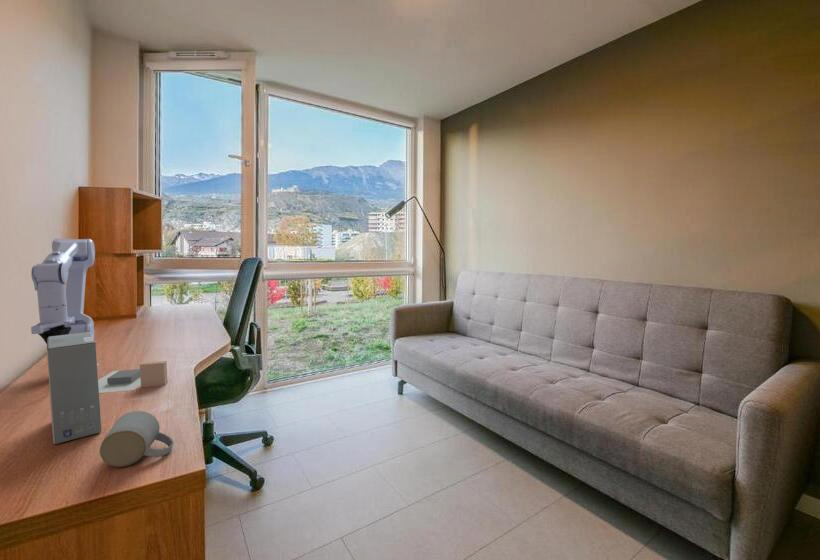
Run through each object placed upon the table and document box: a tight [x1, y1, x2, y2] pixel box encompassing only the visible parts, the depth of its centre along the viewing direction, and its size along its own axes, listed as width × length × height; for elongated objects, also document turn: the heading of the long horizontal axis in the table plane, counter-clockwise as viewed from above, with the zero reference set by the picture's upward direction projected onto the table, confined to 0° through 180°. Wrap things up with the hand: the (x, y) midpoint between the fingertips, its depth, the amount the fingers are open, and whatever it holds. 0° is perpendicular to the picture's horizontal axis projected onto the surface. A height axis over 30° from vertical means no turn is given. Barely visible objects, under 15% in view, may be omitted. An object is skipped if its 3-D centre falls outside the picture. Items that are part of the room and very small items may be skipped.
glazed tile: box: [107, 368, 140, 385], centre depth 110 cm, size 2×6×7 cm
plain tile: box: [139, 360, 169, 388], centre depth 106 cm, size 2×6×7 cm, turn 105°
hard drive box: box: [46, 332, 102, 445], centre depth 81 cm, size 16×8×20 cm, turn 44°
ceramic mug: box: [99, 410, 175, 468], centre depth 70 cm, size 11×8×8 cm
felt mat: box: [98, 370, 141, 394], centre depth 110 cm, size 20×14×1 cm
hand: (57, 353), depth 105 cm, fingers closed
